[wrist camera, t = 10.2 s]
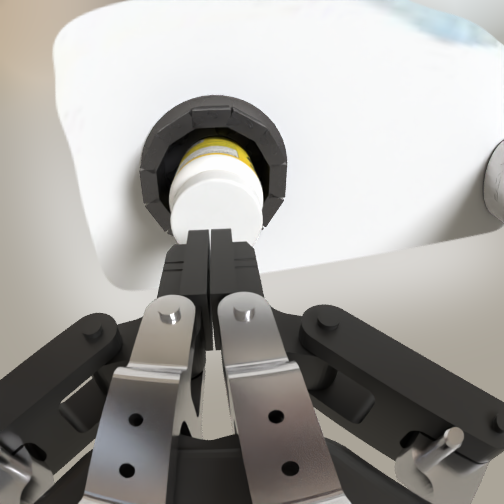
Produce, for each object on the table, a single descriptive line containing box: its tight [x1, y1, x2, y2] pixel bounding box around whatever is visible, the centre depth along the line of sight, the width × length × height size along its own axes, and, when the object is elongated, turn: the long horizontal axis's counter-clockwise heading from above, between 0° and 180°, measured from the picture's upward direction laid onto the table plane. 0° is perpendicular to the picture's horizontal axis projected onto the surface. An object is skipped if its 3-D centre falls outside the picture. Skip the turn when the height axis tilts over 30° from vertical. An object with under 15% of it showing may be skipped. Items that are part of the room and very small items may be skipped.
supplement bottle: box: [169, 135, 263, 250], centre depth 16 cm, size 5×5×8 cm
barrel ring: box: [140, 95, 287, 236], centre depth 19 cm, size 10×10×3 cm
